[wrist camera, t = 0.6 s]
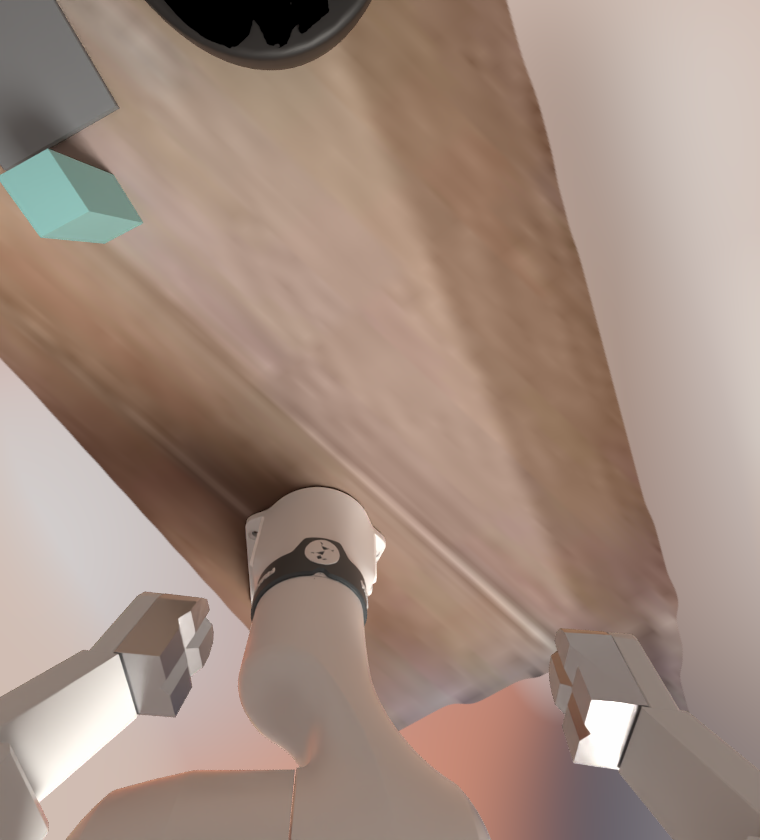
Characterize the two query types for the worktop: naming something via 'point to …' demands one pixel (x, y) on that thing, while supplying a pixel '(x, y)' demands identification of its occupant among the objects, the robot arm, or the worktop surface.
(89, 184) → the teal block
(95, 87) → the rubber mat
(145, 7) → the worktop surface
